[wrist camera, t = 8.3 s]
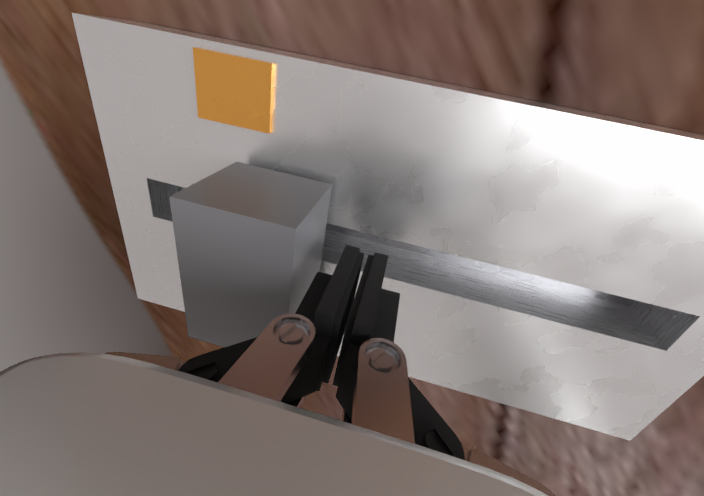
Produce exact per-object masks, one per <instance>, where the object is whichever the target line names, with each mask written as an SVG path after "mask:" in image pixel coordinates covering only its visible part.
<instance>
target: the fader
mask: <svg viewBox="0 0 704 496" xmlns="http://www.w3.org/2000/svg"><path fill="white" fill-rule="evenodd" d="M331 187H332V184H329V183H325V182H320V181H316V180H312V179H308V178H304V177H299V176H295V175H291V174H287V173H283V172H278V171H274V170H270V169H266V168H262V167H257V166H253V165H249V164H245V163H241V162H235V163H233V164H231V165H229V166H227V167H225V168H223V169H221V170H219V171H218V172H216V173H214V174H212V175H210V176H208V177H206V178H204V179H202V180H200V181H198V182H196V183H194V184H192V185H191V186H189V187H187V188H185V189H183V190H181V191H179V192H177V193H175V194H173V195H171V196H169V199H170V206H171V214H172V221H173V228H174V236H175V243H176V250H177V257H178V265H179V272H180V279H181V287H182V294H183V301H184V308H185V316H186V323H187V330H188V337H192V338H195V339H198V340H202V341H205V342H208V343H212V344H215V345H219V346H222V347H228V346H231V345H234V344H237V343H240V342H243V341H246V340H250V339H253V338H256V337H258V336H259V335H260V334H261V333H262V332H263V330H264V329H265V328H266V327H267V326H268V325H269V324H270V322H271V321H273V320H274V319H275V318H276V317H278V316H281V315H284V314H295V312H296V311H297V309H298V307H299V305H300V303H301V301H302V299H303V298H304V296H305V294H306V292H307V290H308V288H309V287H310V285H311V283H312V281H313V279H314V277H315V275H316V274H317V272H320V266H321V259H322V251H323V244H324V237H325V230H326V223H327V216H328V209H329V202H330V195H331Z"/></svg>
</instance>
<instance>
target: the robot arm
mask: <svg viewBox="0 0 704 496" xmlns="http://www.w3.org/2000/svg"><path fill="white" fill-rule="evenodd" d="M363 258H364V253H362V252H360V248H358V247H354V246H350V245H346V246H345V249H344V251H343V253H342V255H341V257H340V259H339V262H338V264H337V266H336V268H335V270H334V272H333V275H330V274H326V273H323V272H317V274H316V275H315V277H314V279H313V281H312V283H311V285H310V287H309V288H308V290H307V292H306V294H305V296H304V298H303V299H302V301H301V303H300V305H299V307H298V309H297V311H296V312H295V314H284V315H281V316H278V317H276V318H275V319H274V320H273V321H271V322H270V324H269V325H268V326H267V327H266V328H265V329H264V330H263V332H262V333H261V334H260V335H259V336H258V337H256V338H253V339H250V340H246V341H243V342H240V343H237V344H234V345H231V346H228V347H224V348H221V349H218V350H215V351H212V352H209V353H206V354H202V355H199V356H197V357H194V358H192V359H190V360H188V361H181V357H172V356H160V355H148V354H136V353H123V352H108V353H104V354H101V353H84V352H81V353H60V354H51V355H45V356H39V357H34V358H31V359H28V360H25V361H22V362H19V363H17V364H15V365H13V366H10V367H8V368H6V369H5V370H3V371H1V372H0V496H555V495H554V494H553V493H552V492H551V491H550V490H549V489H548V488H546V487H545V486H543V485H542V484H541V483H539V482H537V481H535V480H533V479H531V478H529V477H528V476H526V475H524V474H522V473H520V472H518V471H517V470H515V469H513V468H511V467H509V466H507V465H505V464H504V463H502V462H500V461H498V460H496V459H494V458H493V457H491V456H489V455H487V454H485V453H483V452H481V451H480V450H478V449H476V448H474V447H472V448H471V449H468V448H466V447H464V446H462V444H461V442H460V441H459V439H458V437H457V436H456V434H455V433H454V432H453V431H452V430H451V428H450V427H449V426H448V425H447V424H446V422H445V421H444V420H443V419H442V418H441V416H440V415H439V414H438V413H437V412H436V410H435V409H434V408H433V407H432V406H431V404H430V403H429V402H428V401H427V399H426V398H425V397H424V396H423V395H422V393H421V392H420V391H419V390H418V389H417V387H416V386H415V385H414V384H413V383H412V381H411V380H410V379H409V378H408V370H407V360H406V357H405V354H404V352H403V351H402V349H401V348H400V347H399V346H398V345H397V344H395V343H394V337H395V329H396V322H397V314H398V307H399V299H400V293H397V292H393V291H389V290H386V289H382V284H383V279H384V274H385V270H386V265H387V261H388V255H384V254H381V253H377V252H375V254H374V255H370V254H369V255H368V258H367V261H366V264H365V267H364V270H363V273H362V276H361V279H360V282H359V286H358V289H357V284H358V280H359V275H360V271H361V267H362V262H363ZM356 289H357V292H356ZM355 293H356V295H355ZM354 297H355V298H354ZM343 335H344V337H343ZM342 339H343V341H342ZM341 342H342V346H341V350H340V355H339V359H338V364H337V368H336V373H335V377H334V382H333V385H335V386H338V389H337V393H336V398H337V399H338V401H339V403H340V404H341V406H342V407H343V409H344V410H343V413H342V421H340V420H337V419H334V418H331V417H328V416H324V415H321V414H318V413H315V412H312V411H308V410H305V409H302V408H301V406H302V405H303V403H304V400H305V397H306V395H308V394H311V393H313V392H315V391H319V390H320V387H321V384H322V382H325V383H328V382H329V379H330V376H331V373H332V370H333V367H334V364H335V360H336V357H337V354H338V351H339V348H340V345H341Z"/></svg>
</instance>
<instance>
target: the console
mask: <svg viewBox="0 0 704 496" xmlns="http://www.w3.org/2000/svg"><path fill="white" fill-rule="evenodd" d="M72 16H73V21H74V25H75V29H76V34H77V38H78V42H79V47H80V51H81V55H82V60H83V64H84V68H85V73H86V77H87V81H88V85H89V90H90V94H91V98H92V103H93V107H94V111H95V116H96V120H97V124H98V129H99V133H100V137H101V142H102V146H103V150H104V154H105V159H106V163H107V167H108V172H109V176H110V180H111V185H112V189H113V193H114V198H115V202H116V206H117V210H118V215H119V219H120V223H121V228H122V232H123V236H124V241H125V245H126V249H127V254H128V258H129V262H130V267H131V271H132V275H133V279H134V284H135V288H136V292H137V297H138V299H142V300H145V301H149V302H152V303H156V304H159V305H163V306H166V307H170V308H173V309H177V310H180V311H183V312H185V308H184V301H183V294H182V287H181V279H180V272H179V265H178V257H177V250H176V243H175V236H174V228H173V221H172V214H171V206H170V199H169V196H171V195H173V194H175V193H177V192H179V191H181V190H183V189H185V188H187V187H189V186H191V185H192V184H194V183H196V182H198V181H200V180H202V179H204V178H206V177H208V176H210V175H212V174H214V173H216V172H218V171H219V170H221V169H223V168H225V167H227V166H229V165H231V164H233V163H235V162H241V163H245V164H249V165H253V166H257V167H262V168H266V169H270V170H274V171H278V172H283V173H287V174H291V175H295V176H299V177H304V178H308V179H312V180H316V181H320V182H325V183H329V184H332V187H331V195H330V202H329V209H328V216H327V223H326V230H325V237H324V244H323V251H322V259H321V266H320V272H323V273H326V274H330V275H333V272H334V270H335V268H336V266H337V264H338V262H339V259H340V257H341V255H342V253H343V251H344V249H345V246H346V245H350V246H354V247H358V248H360V252H362V253H364V258H363V262H362V267H361V271H360V275H359V280H358V284H357V289H358V286H359V282H360V279H361V276H362V273H363V270H364V267H365V264H366V261H367V258H368V255H369V254H370V255H374V254H375V252H377V253H381V254H384V255H388V261H387V265H386V270H385V274H384V279H383V284H382V289H386V290H389V291H393V292H397V293H400V299H399V307H398V314H397V322H396V329H395V337H394V343H395V344H397V345H398V346H399V347H400V348H401V349H402V351H403V352H404V354H405V357H406V360H407V370H408V376H409V377H412V378H416V379H419V380H423V381H426V382H429V383H433V384H436V385H440V386H443V387H447V388H450V389H454V390H457V391H461V392H464V393H468V394H471V395H474V396H478V397H481V398H485V399H488V400H492V401H495V402H499V403H502V404H506V405H509V406H513V407H516V408H520V409H523V410H526V411H530V412H533V413H537V414H540V415H544V416H547V417H551V418H554V419H558V420H561V421H565V422H568V423H571V424H575V425H578V426H582V427H585V428H589V429H592V430H596V431H599V432H603V433H606V434H610V435H613V436H617V437H620V438H623V439H627V440H631V439H632V438H633V437H634V436H636V435H637V434H638V433H639V432H640V431H641V430H642V429H644V428H645V427H646V426H647V425H648V424H649V423H650V422H652V421H653V420H654V419H655V418H656V417H657V416H658V415H659V414H661V413H662V412H663V411H664V410H665V409H666V408H667V407H669V406H670V405H671V404H672V403H673V402H674V401H675V400H676V399H678V398H679V397H680V396H681V395H682V394H683V393H684V392H686V391H687V390H688V389H689V388H690V387H691V386H692V385H694V384H695V383H696V382H697V381H698V380H699V379H700V378H701V377H703V376H704V134H699V133H694V132H690V131H685V130H680V129H675V128H670V127H665V126H660V125H655V124H650V123H645V122H640V121H635V120H630V119H625V118H620V117H615V116H610V115H605V114H600V113H595V112H590V111H585V110H580V109H575V108H570V107H565V106H560V105H555V104H550V103H545V102H540V101H535V100H530V99H525V98H520V97H515V96H510V95H505V94H500V93H495V92H490V91H485V90H481V89H476V88H471V87H466V86H461V85H456V84H451V83H446V82H441V81H436V80H431V79H426V78H421V77H416V76H411V75H406V74H401V73H396V72H391V71H386V70H381V69H376V68H371V67H366V66H361V65H356V64H351V63H346V62H341V61H336V60H331V59H326V58H321V57H316V56H311V55H306V54H301V53H296V52H291V51H286V50H281V49H276V48H272V47H267V46H262V45H257V44H252V43H247V42H242V41H237V40H232V39H227V38H222V37H217V36H212V35H207V34H202V33H197V32H192V31H187V30H182V29H177V28H172V27H167V26H162V25H157V24H152V23H146V22H138V21H131V20H123V19H116V18H108V17H101V16H93V15H86V14H78V13H72ZM357 289H356V292H357ZM355 295H356V293H355ZM354 298H355V297H354ZM343 337H344V335H343ZM342 341H343V339H342ZM341 346H342V342H341V345H340V348H339V351H338V354H337V356H339V355H340V350H341Z"/></svg>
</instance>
